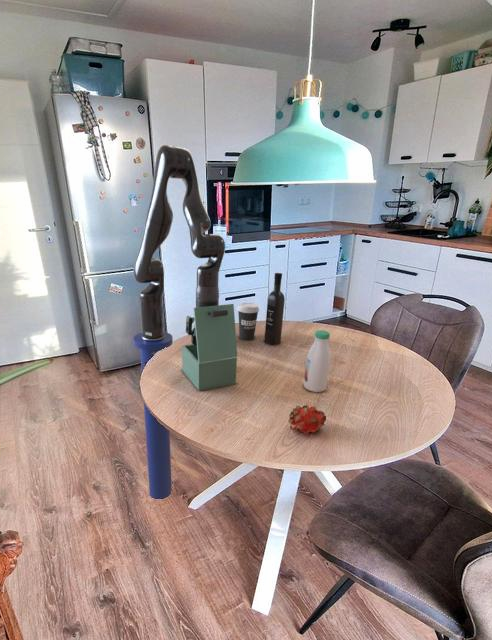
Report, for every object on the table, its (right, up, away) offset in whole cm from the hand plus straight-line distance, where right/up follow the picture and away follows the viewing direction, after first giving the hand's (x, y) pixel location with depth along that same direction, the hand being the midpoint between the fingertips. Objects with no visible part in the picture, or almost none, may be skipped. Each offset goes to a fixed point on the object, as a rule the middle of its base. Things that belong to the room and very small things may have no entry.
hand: (206, 343), depth 133 cm
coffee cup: (+16, +4, +40) cm, 43 cm away
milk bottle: (+37, -15, -1) cm, 40 cm away
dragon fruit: (+29, -25, -24) cm, 46 cm away
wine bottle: (+27, +2, +36) cm, 45 cm away
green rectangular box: (0, -12, +4) cm, 12 cm away
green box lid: (+3, +3, -9) cm, 10 cm away
